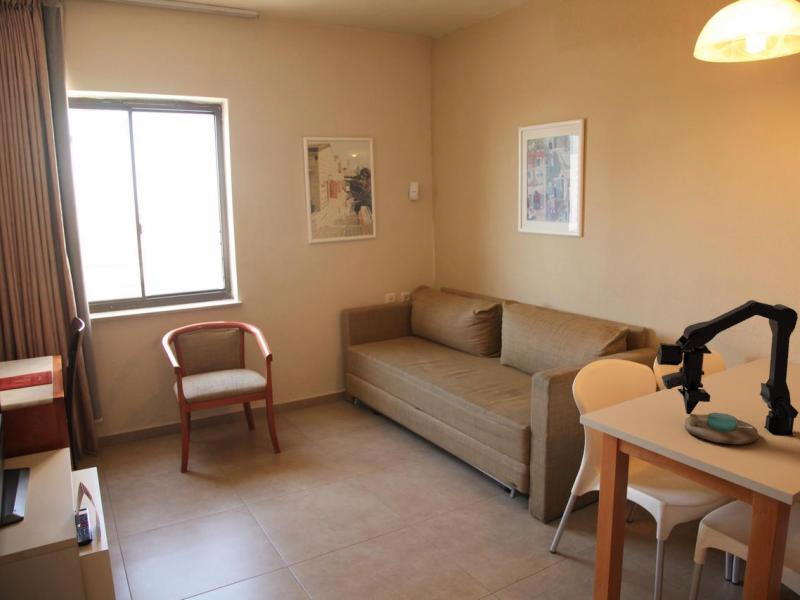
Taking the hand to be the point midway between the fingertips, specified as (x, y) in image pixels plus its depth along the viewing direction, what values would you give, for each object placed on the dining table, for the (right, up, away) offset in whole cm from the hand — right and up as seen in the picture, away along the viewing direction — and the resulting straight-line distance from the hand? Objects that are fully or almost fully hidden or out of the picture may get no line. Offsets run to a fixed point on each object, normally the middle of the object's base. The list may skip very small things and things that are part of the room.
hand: (688, 413), depth 199 cm
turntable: (+7, -5, -6) cm, 10 cm away
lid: (+7, -3, -6) cm, 10 cm away
